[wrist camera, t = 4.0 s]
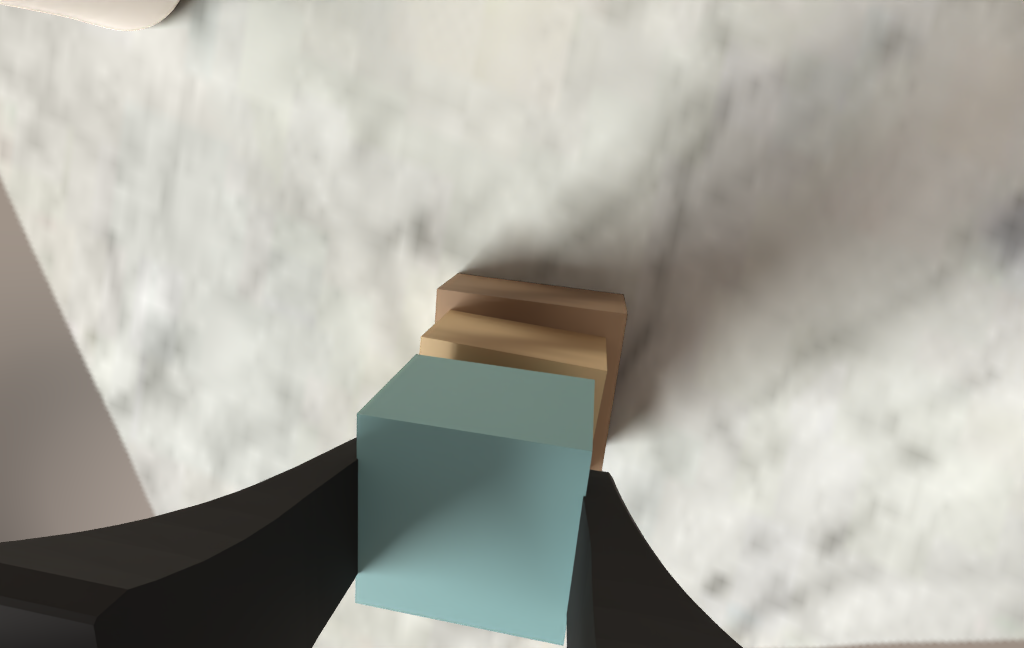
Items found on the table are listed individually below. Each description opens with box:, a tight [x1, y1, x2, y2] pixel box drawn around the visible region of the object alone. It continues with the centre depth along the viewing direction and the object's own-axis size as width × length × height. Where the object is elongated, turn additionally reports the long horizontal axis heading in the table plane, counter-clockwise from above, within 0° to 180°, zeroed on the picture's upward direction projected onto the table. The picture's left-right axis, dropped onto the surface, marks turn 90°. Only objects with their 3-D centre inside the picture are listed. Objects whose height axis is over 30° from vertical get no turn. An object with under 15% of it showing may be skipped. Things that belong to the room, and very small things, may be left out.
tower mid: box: [419, 310, 607, 439], centre depth 16 cm, size 5×5×3 cm
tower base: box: [435, 273, 627, 471], centre depth 19 cm, size 6×6×3 cm
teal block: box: [355, 354, 595, 645], centre depth 12 cm, size 4×4×4 cm
